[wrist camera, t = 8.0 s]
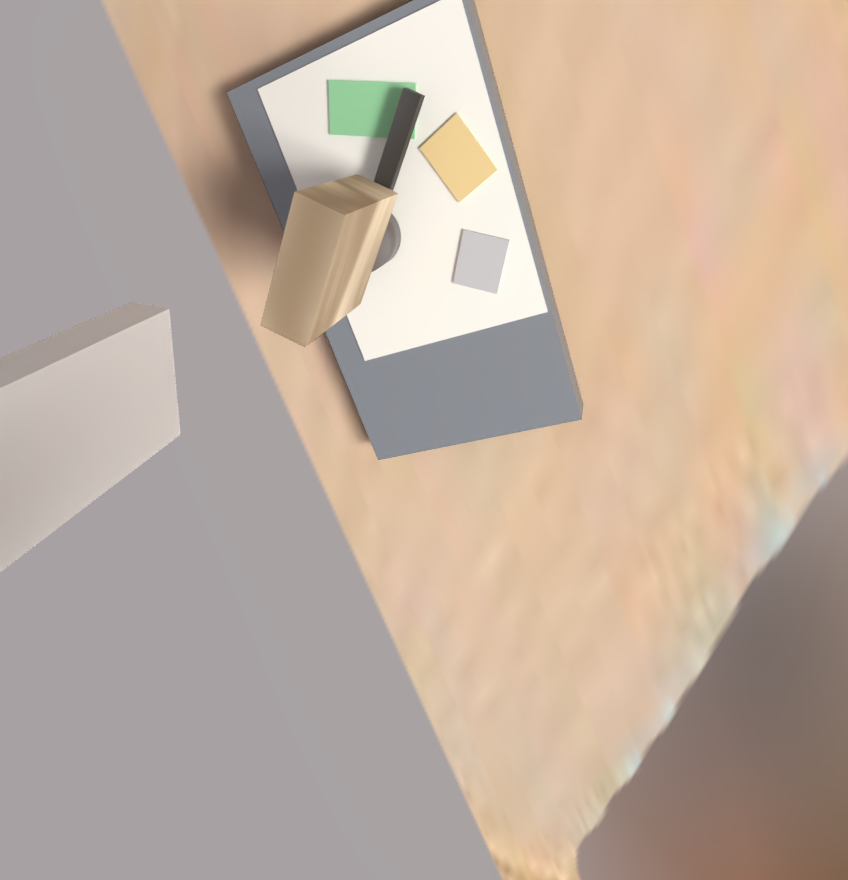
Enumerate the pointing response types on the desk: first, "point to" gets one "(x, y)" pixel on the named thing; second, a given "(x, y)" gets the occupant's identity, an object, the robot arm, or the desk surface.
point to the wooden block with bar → (338, 240)
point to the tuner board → (424, 230)
